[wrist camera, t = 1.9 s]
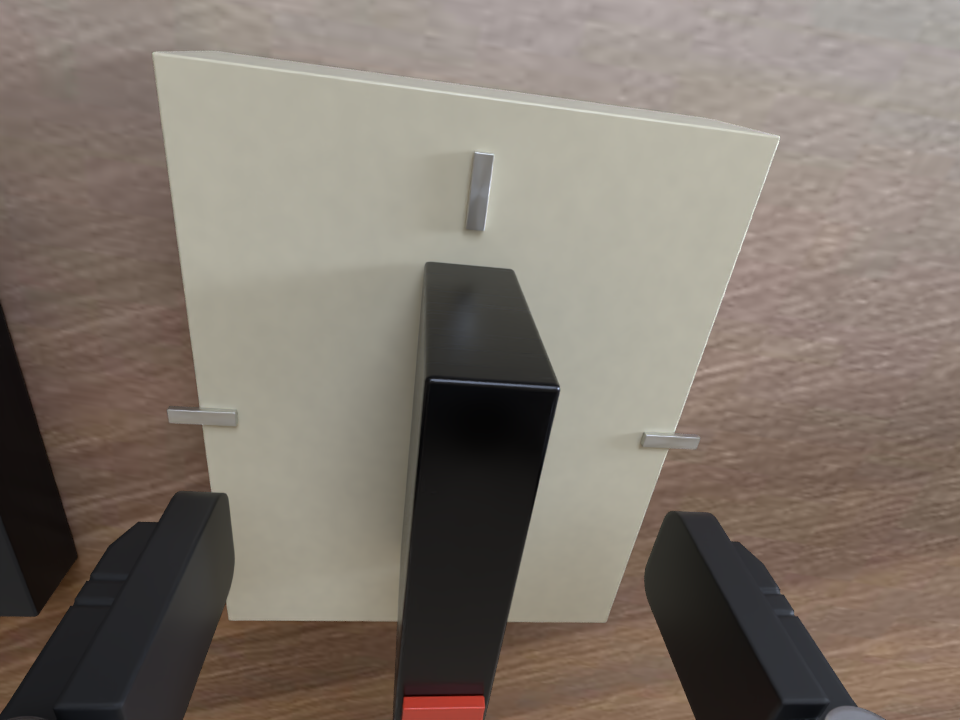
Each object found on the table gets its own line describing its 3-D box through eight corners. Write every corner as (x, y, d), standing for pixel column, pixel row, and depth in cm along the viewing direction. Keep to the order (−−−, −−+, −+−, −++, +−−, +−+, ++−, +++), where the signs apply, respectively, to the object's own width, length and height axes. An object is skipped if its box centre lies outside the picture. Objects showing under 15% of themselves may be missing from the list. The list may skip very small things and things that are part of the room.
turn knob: (424, 259, 11) (424, 388, 7) (515, 267, 11) (568, 397, 7) (400, 550, 15) (391, 745, 11) (468, 551, 15) (484, 743, 11)
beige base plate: (181, 45, 11) (104, 45, 9) (734, 121, 13) (817, 141, 10) (237, 538, 18) (203, 626, 15) (598, 547, 20) (626, 627, 17)
